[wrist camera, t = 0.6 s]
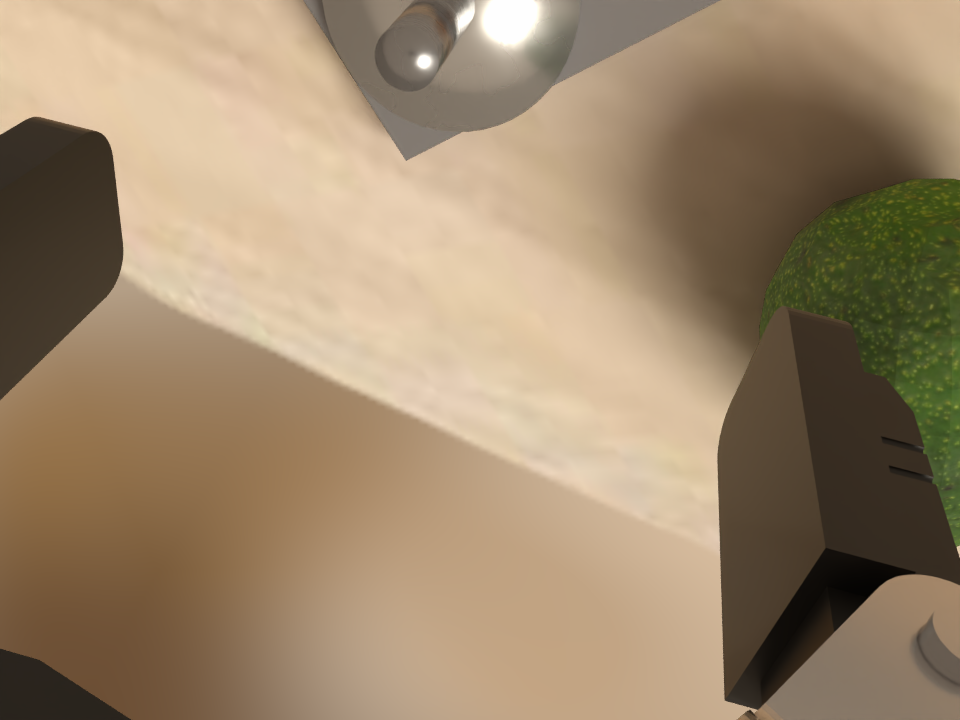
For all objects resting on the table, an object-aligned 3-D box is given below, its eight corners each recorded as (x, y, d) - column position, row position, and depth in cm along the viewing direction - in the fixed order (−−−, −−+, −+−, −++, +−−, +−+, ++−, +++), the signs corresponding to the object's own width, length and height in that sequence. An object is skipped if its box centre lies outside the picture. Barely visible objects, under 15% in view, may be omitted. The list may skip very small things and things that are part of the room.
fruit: (997, 449, 37) (1084, 647, 29) (757, 456, 39) (777, 640, 32) (1059, 113, 28) (1206, 266, 20) (747, 151, 31) (772, 299, 23)
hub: (498, -211, 24) (455, -194, 20) (624, 58, 28) (615, 126, 24) (276, -55, 28) (195, -9, 23) (415, 164, 32) (370, 241, 27)
